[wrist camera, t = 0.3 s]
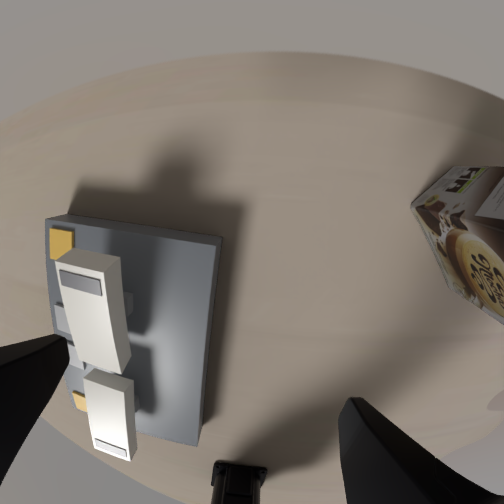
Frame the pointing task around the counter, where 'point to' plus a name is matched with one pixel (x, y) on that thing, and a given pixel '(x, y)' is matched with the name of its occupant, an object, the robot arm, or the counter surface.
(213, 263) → the switch unit
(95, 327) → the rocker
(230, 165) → the counter surface
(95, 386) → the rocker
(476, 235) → the coffee box
